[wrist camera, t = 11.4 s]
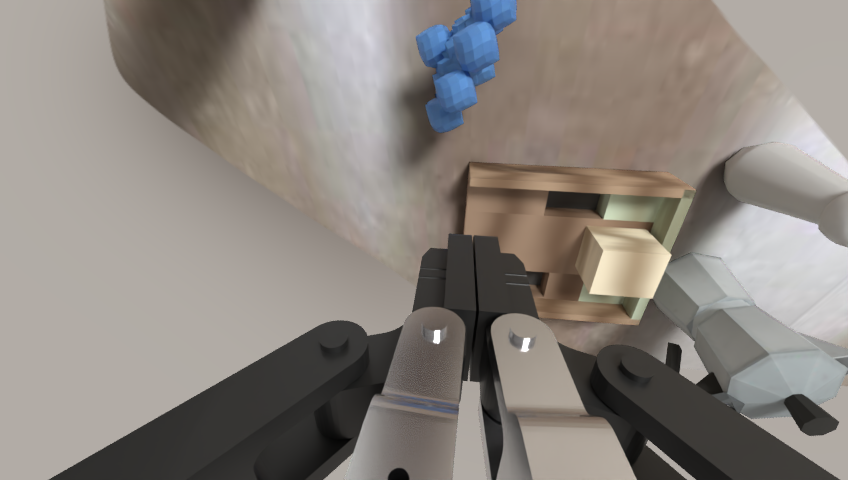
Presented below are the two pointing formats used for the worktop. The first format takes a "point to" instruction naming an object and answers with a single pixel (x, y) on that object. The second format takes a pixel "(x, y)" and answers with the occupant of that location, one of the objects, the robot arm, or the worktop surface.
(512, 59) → the worktop surface
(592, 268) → the birch block
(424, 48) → the grapes
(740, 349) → the coffee maker
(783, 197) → the salt shaker
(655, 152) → the worktop surface
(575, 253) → the box
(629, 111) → the worktop surface
